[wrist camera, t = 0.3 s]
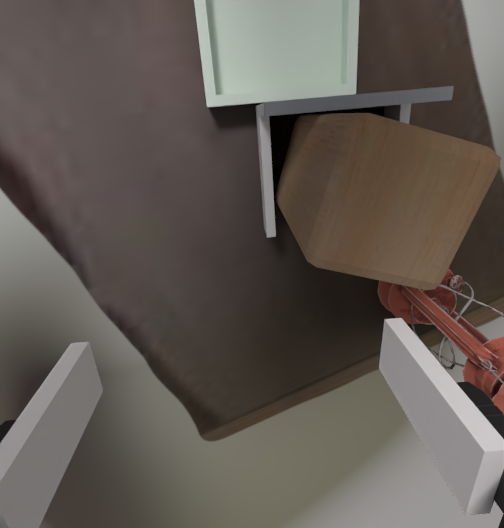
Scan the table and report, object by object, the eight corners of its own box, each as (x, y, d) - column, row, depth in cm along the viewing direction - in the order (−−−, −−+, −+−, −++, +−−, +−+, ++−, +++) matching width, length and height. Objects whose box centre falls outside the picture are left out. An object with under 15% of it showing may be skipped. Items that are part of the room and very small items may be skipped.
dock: (255, 106, 37) (264, 102, 27) (394, 94, 37) (453, 85, 27) (263, 226, 42) (273, 261, 32) (384, 215, 42) (431, 246, 32)
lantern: (373, 317, 48) (561, 585, 21) (380, 249, 44) (628, 470, 17) (441, 312, 48) (716, 570, 21) (455, 244, 44) (819, 454, 17)
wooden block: (380, 135, 39) (515, 152, 20) (350, 219, 42) (440, 298, 24) (296, 112, 37) (358, 107, 19) (272, 201, 41) (304, 270, 23)
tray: (186, -78, 30) (182, -93, 28) (353, -91, 31) (363, -107, 28) (208, 107, 36) (207, 107, 34) (348, 95, 37) (356, 94, 34)
